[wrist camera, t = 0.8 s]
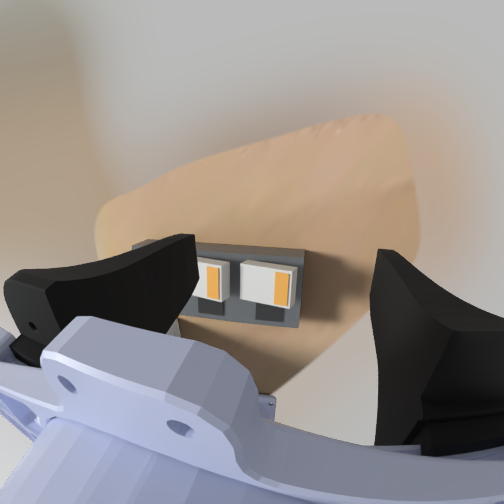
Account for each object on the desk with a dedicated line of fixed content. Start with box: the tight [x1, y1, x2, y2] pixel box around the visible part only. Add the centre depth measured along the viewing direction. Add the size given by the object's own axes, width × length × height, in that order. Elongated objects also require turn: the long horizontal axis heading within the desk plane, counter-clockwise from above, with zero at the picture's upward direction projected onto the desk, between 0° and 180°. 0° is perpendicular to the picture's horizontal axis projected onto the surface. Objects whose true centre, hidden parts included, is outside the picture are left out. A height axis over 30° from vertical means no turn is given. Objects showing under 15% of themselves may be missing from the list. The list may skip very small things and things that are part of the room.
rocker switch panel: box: [132, 239, 305, 328], centre depth 27 cm, size 6×15×4 cm, turn 88°
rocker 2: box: [240, 260, 298, 309], centre depth 23 cm, size 3×4×1 cm
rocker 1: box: [192, 257, 230, 302], centre depth 23 cm, size 3×4×1 cm
